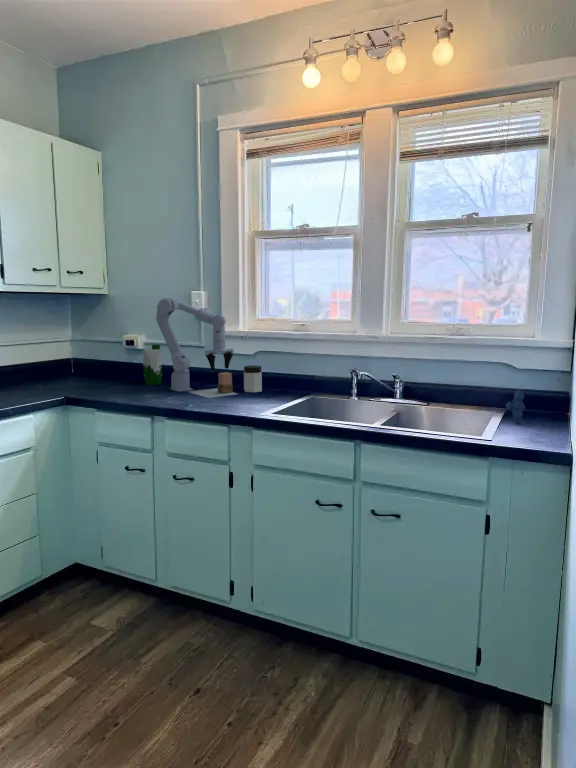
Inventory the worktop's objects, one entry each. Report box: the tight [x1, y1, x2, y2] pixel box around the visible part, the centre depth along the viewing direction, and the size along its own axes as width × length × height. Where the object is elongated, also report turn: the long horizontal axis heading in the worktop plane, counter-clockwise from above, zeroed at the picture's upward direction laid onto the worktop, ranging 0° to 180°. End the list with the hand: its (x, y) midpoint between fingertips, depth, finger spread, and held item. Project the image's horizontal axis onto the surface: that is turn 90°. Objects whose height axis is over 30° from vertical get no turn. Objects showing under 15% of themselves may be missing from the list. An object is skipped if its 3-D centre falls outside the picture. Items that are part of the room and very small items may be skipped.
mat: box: [187, 387, 238, 399], centre depth 250 cm, size 20×16×1 cm
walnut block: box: [217, 383, 234, 394], centre depth 250 cm, size 5×5×4 cm
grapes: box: [505, 388, 526, 425], centre depth 191 cm, size 12×7×12 cm, turn 156°
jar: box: [243, 364, 263, 393], centre depth 254 cm, size 9×8×12 cm
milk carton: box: [142, 344, 163, 386], centre depth 277 cm, size 9×9×20 cm
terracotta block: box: [217, 372, 233, 385], centre depth 249 cm, size 4×4×5 cm
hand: (219, 369), depth 256 cm, fingers open, 7 cm apart
